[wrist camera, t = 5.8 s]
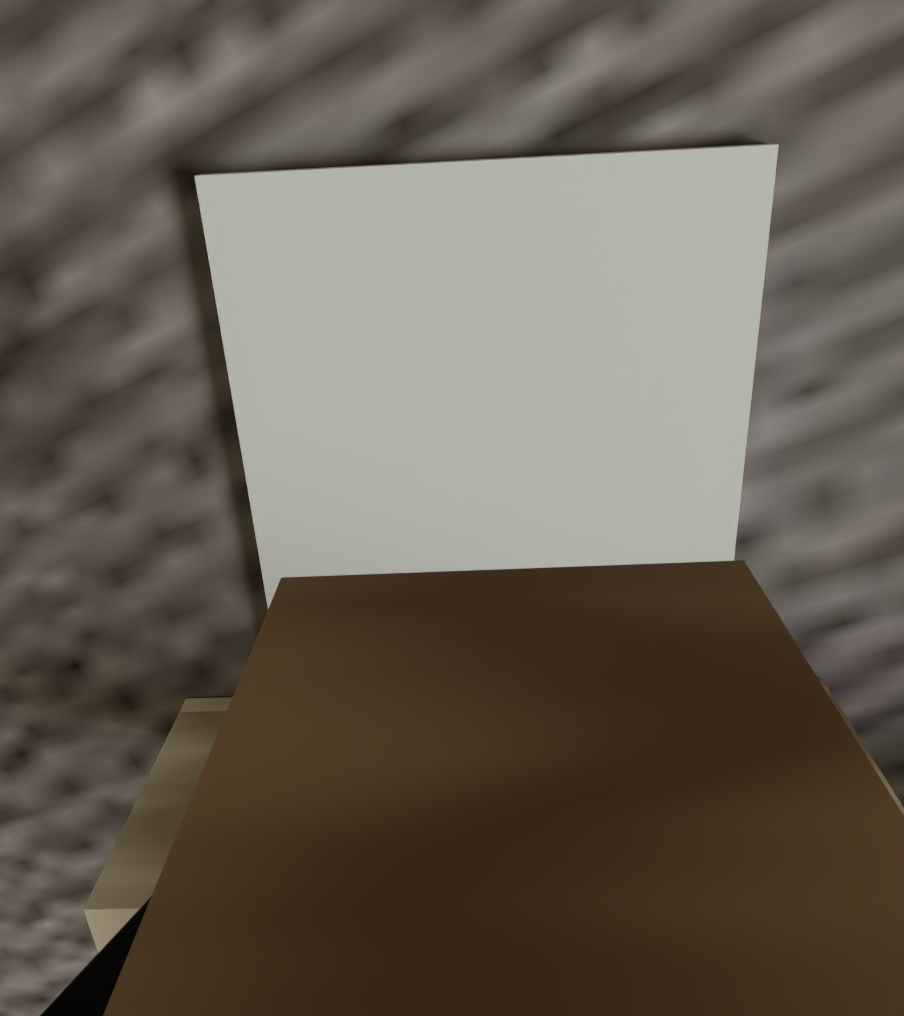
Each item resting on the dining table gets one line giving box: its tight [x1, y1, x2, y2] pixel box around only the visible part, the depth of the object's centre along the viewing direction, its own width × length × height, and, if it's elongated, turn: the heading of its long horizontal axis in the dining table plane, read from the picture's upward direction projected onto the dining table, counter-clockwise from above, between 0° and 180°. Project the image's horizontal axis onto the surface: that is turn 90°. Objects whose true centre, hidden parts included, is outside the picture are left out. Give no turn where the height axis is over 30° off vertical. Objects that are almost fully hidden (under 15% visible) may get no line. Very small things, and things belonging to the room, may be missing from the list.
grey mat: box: [195, 144, 779, 609], centre depth 20 cm, size 12×12×1 cm
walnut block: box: [103, 560, 904, 1016], centre depth 7 cm, size 5×5×6 cm
